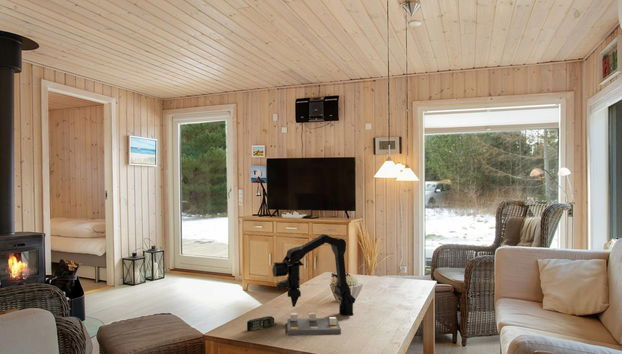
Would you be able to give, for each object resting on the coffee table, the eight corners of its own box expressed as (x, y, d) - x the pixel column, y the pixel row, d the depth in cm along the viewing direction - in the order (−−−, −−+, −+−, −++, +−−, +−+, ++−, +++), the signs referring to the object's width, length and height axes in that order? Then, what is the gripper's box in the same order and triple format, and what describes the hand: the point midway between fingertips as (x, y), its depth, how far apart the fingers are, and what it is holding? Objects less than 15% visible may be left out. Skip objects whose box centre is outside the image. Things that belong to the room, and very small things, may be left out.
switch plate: (336, 322, 209) (336, 317, 209) (340, 333, 193) (340, 329, 193) (287, 322, 208) (287, 318, 208) (287, 334, 192) (287, 330, 192)
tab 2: (335, 323, 200) (335, 316, 201) (336, 325, 198) (336, 318, 198) (329, 323, 200) (329, 317, 200) (329, 325, 198) (329, 318, 198)
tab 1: (296, 319, 206) (296, 313, 206) (296, 320, 204) (296, 314, 204) (290, 319, 206) (290, 313, 206) (290, 320, 204) (290, 314, 204)
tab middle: (315, 318, 207) (315, 312, 207) (315, 320, 205) (315, 314, 205) (309, 319, 207) (309, 312, 207) (309, 320, 204) (309, 314, 204)
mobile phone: (248, 321, 195) (277, 315, 203) (245, 320, 198) (274, 313, 206) (248, 332, 195) (277, 326, 203) (246, 330, 198) (274, 324, 206)
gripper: (277, 271, 219) (277, 301, 219) (277, 279, 201) (277, 312, 201) (299, 270, 220) (299, 301, 220) (300, 279, 202) (300, 312, 201)
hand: (293, 306), depth 211 cm, fingers closed
